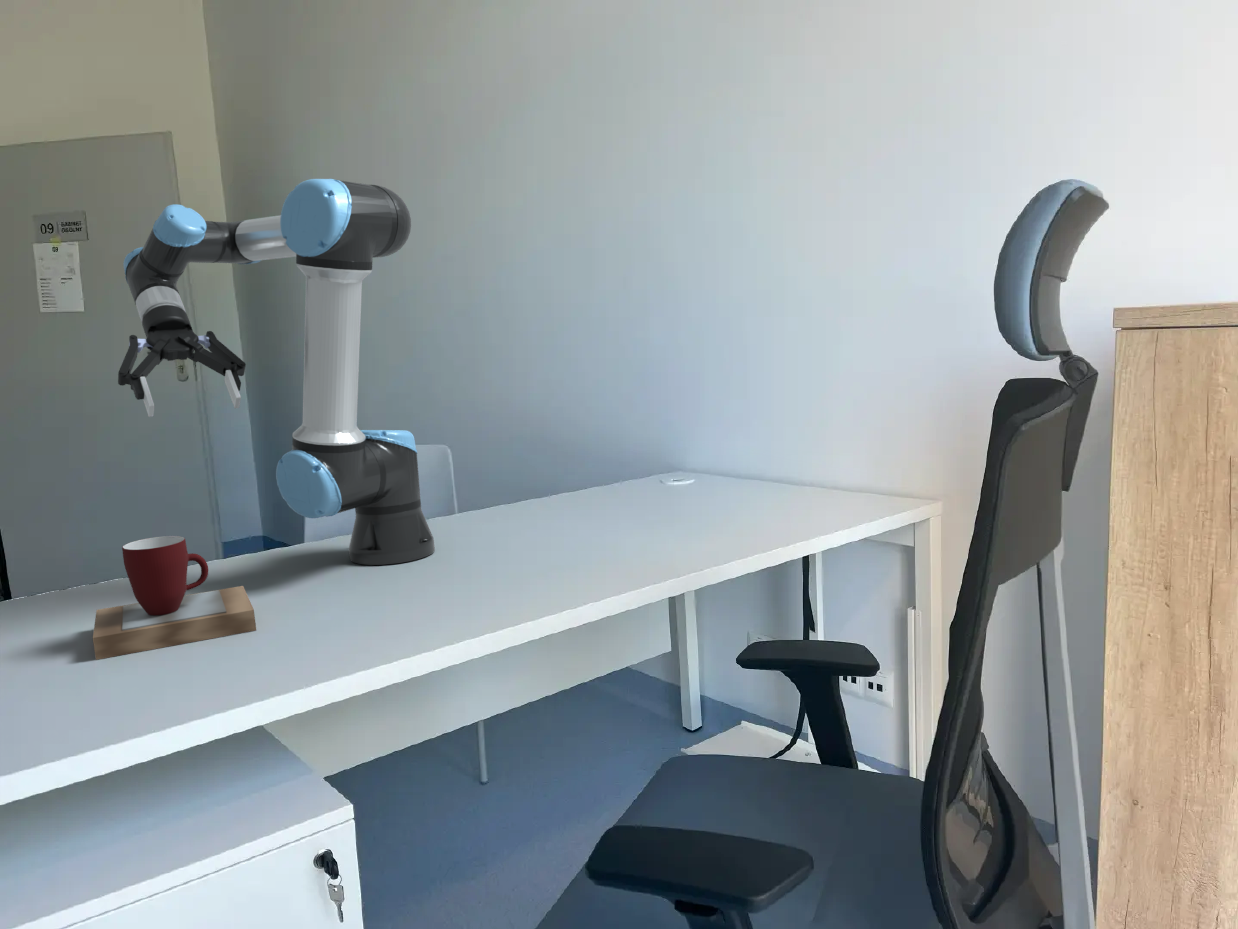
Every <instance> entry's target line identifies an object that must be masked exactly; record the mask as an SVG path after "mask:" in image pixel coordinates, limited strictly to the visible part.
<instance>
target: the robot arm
mask: <svg viewBox="0 0 1238 929" xmlns="http://www.w3.org/2000/svg"><path fill="white" fill-rule="evenodd" d="M410 213H411V212H410V211H409V208H408V207H407V204H406V203H405V201H404V200H403V199H402V198H401V196H399V195H398V194H397V193H396V192H394V191H393V190H391V189H389V188H387V187H384V186H382V185H378V184H377V185H376V184H366V183H359V182H352V181H346V180H340V179H333V178H310V179H307V180H303V181H301V182H300V183H298V184H296V185H295V187H294V189H293V190H291V191H290V192H289V193H288V194H287V196H286V197H285V200H284V202H283V205H282V208H281V212H280V215H274V216H273V215H272V216H265V217H257V218H252V219H251V218H249V219H245V220H237V221H212V220H205V218H203V216H202V215H201V214H199V212H197V211H196V210H194V209H193V208H191V207H186V206H185V205H182V204H169V205H167V206H165V207H164V208H163V210H162V212H161V213H160V214H159V216H158V218H157V219H156V220H155V221H154V223H153V225H152V226H153V227H152V229H151V231H150V232H149V235H148V237H147V239H146V241H145V243H144V244H143V246H140V247H137V248H135V249H133V250H132V251H131V252H129V253H127V254H126V256H125V258H124V260H123V265H122V266H123V269H124V275H125V276H124V278H125V281H126V283H127V285H128V288H129V291H130V293H131V297H132V299H133V302H134V305H135V306H136V307H135V308H136V310H137V313H138V316H139V319H140V320H139V321H140V322H141V325H142V328H143V331H144V333H145V337H146V338H138V335H135V334H131V335H129V338H128V339H129V340H128V342H129V343H128V348H127V351H126V353H125V356H124V358H123V361H122V363H121V365H120V368H119V370H118V374H117V375H118V377H117V384H118V385H119V386H126V385H129V386H130V390H132V391H133V394H134V397H135V399H136V400H142V401H143V403H144V406H145V410H146V413H147V416H148V418H152V417H154V416H155V406H156V405H155V403H154V400H153V397H152V393H151V391H150V390H151V389H150V387H149V383H148V382H147V377H149V375H150V373H151V372H152V371H153V370H154V369H155V368H156V366H157V365H160V364H161V363H162V361H163V360H166V361H168V362H169V361H171V362H172V361H176V360H179V361H181V360H182V361H183V360H187V359H189V360H191V361H192V362H194V363H200V364H202V365H204V366H206V367H207V368H209V369H211V370H212V371H214V372H216V373H218V374H219V375H221V376H223V377H224V380H223V381H224V383H225V387H226V389H227V392H228V394H229V397H230V400H231V402H232V405H233V408H234V409H239V408H240V407H241V406H240V405H241V400H242V396H241V394H240V391H241V386H242V382H241V379H240V377H242V376H244V375H245V372H246V371H245V370H246V365H247V364H246V362H245V361H243V360H242V359H241V358H240V357H239V356H238V355H237V354H235V352H233V351H232V350H230V349H229V348H228V347H227V346H225V344H223V343H222V342H221V341H220V340H219V339H218V338H217V337H216V334H215V333H214V332H213V331H212V330H208V331H206V332H205V334H203V335H197V334H196V333H195V332H194V330H193V327H192V324H191V321H190V318H189V317H188V314H187V312H186V311H187V310H186V308H185V306H184V303H183V301H182V298H181V295H180V292H179V290H178V287H177V284H178V281H179V280H180V278H181V276H182V275H183V273H184V272H185V270H186V268H187V266H188V264H190V263H199V264H200V263H202V264H204V263H205V264H209V263H210V264H215V263H217V264H238V265H251V264H257V263H260V262H261V261H265V260H277V259H286V258H294V257H295V258H296V259H295V266H296V267H297V268H298V269H299V270H300V271H301V273H302V274H303V275H304V276H305V302H304V307H305V308H304V341H303V342H304V343H303V344H304V345H303V348H304V349H303V357H304V358H303V382H302V383H303V386H302V387H303V388H302V389H303V390H302V423H301V425H300V426H299V427H298V428H297V429H296V430H294V431H293V432H292V444H291V450H290V451H288V452H287V451H286V453H284V454H283V455H282V457H281V459H279V460H278V462H277V465H276V467H275V468H276V469H275V479H276V485H277V488H278V491H279V493H280V495H281V497H282V499H283V500H284V501H285V503H286V504H287V505H288V507H289V508H290V509H291V510H292V511H294V512H295V513H296V514H298V515H299V516H302V517H305V518H307V519H319V518H324V517H327V518H328V517H333V516H336V515H338V514H340V513H343V512H344V513H345V512H346V511H347V512H348V511H351V510H355V519H354V525H353V527H352V533H351V538H350V542H349V547H348V552H349V554H348V555H349V561H350V562H352V563H355V564H357V565H358V564H359V565H365V566H366V565H367V566H372V565H373V566H376V565H377V566H378V565H379V566H380V565H394V564H400V563H407V562H412V561H416V560H420V559H423V558H426V557H428V556H430V555H432V554H434V552H435V550H436V549H435V547H436V546H435V539H434V536H433V534H432V531H431V529H430V527H429V525H428V524H429V523H428V521H427V520H426V517H425V516H424V513H423V510H422V502H421V489H420V488H421V487H420V477H419V476H420V475H419V467H418V466H419V465H418V450H417V446H416V441H415V436H414V435H413V433H412V432H411V431H410V430H405V429H403V430H402V429H400V430H398V429H397V430H395V429H392V430H391V429H389V430H388V429H359V427H358V425H357V423H358V422H357V421H358V400H359V399H358V396H359V374H360V372H359V369H360V345H361V344H360V343H361V342H360V341H361V340H360V339H361V319H362V318H361V317H362V316H361V315H362V313H361V312H362V290H363V289H362V288H363V281H364V279H365V278H366V277H368V276H369V275H371V273H372V272H373V260H374V258H383V257H388V256H392V255H394V254H395V253H397V252H399V250H401V249H402V248H403V247H404V246H405V244H406V243H407V241H408V239H409V236H410V235H411V234H410V233H411V228H412V218H411V214H410ZM144 348H147V349H148V350H149V353H148V354H147V355H146V357H145V358H144V359H143V360H142V361H141V362H140V364H138V366H137V367H136V368H135V369H134V370H133V367H134V366H135V363H136V361H137V358H138V354H139V353H141V351H143V349H144ZM132 370H133V371H132Z"/></svg>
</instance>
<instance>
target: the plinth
mask: <svg viewBox="0 0 1238 929" xmlns="http://www.w3.org/2000/svg"><path fill="white" fill-rule="evenodd" d="M255 616H256V615H255V610H254V607H253V605H252V602H251V600H250V598H249V596H248V594H247V591H246V589H245V587H244V585H241V586H234V587H227V588H221V589H215V590H209V591H202V592H198V593H197V592H196V593H193V594H192V593H190V594H185V595H184V597H183V600H182V602H181V604H180V607H179V609H178V610H177V611H175V612H173V613H170V614H165V615H158V616H152V615H148V614H147V613H146V611H145V610H144V609H143V608H142V606H141V605H140V604H139V603H138V602H136V603H131V604H130V603H129V604H124V605H117V606H112V607H111V606H110V607H105V608H99V609H96V612H95V617H94V618H95V620H94V628H93V634H92V641H93V642H92V643H93V649H94V650H93V651H94V656H95V657H94V658H95V661H97V660H103V659H107V658H108V659H109V658H112V657H113V658H114V657H118V656H123V655H130V654H136V653H141V652H145V651H146V652H147V651H152V650H156V649H157V650H159V649H162V648H167V647H168V648H169V647H174V646H178V645H183V644H190V643H195V642H201V641H205V640H211V639H216V638H222V637H223V638H224V637H226V636H227V637H228V636H233V635H238V634H242V633H243V634H245V633H249V632H250V633H251V632H254V631H255V632H256V631H257V624H256V617H255Z"/></svg>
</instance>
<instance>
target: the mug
mask: <svg viewBox="0 0 1238 929" xmlns="http://www.w3.org/2000/svg"><path fill="white" fill-rule="evenodd" d="M121 549H122V557H123V558H122V559H123V564H124V568H125V572H126V575H127V578H128V581H129V583H130V586H131V589H132V590H131V591H132V593H133V594H134V597H135V600H136V601H137V603H139V604H140V605H141V606H142V608H143V609H144V610H145V611H146V613H147V614H148V615H152V616H158V615H165V614H170V613H173V612H175V611H177V610H178V609H179V607H180V604H181V602H182V600H183V597H184V595H186V592H187V591H190V590H193V589H195V588H197V587H199V586H201V585H203V583H204V582H206V580H207V579H208V575H209V564H208V563H207V561H206V559H205V558H204V557H203V556H201V555H200V554H198V553H188V547H187V543H186V537H183V536H179V535H165V536H155V537H154V536H153V537H149V538H142V539H138V540H134V541H131V542H128V543H126V544H124V545H122V546H121ZM189 562H196V563H197V564H198V565H199V566H200V571H201V573H200V576H199V578H198V579H197V580H196V581H194V582H192V583H189V584H188V583H187V581H188V580H187V579H188V565H189Z"/></svg>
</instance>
